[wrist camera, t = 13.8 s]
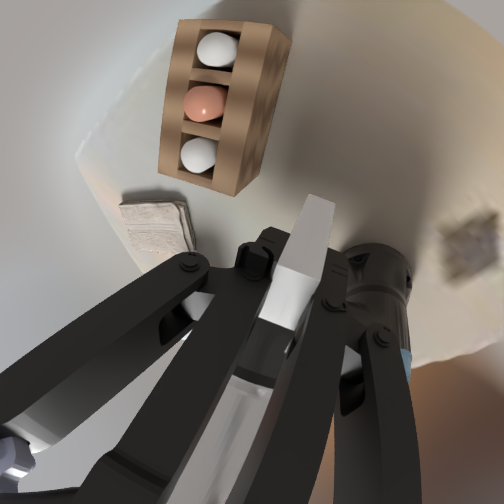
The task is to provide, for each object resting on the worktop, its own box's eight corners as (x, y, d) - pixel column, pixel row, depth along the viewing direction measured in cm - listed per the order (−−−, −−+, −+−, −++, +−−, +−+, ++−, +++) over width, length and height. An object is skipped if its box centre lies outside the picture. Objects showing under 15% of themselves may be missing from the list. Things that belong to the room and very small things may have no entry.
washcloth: (201, 250, 56) (193, 258, 53) (138, 245, 62) (130, 252, 59) (187, 196, 49) (178, 202, 47) (123, 200, 56) (114, 205, 53)
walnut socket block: (258, 174, 42) (234, 197, 34) (193, 155, 44) (157, 172, 36) (291, 40, 29) (272, 24, 21) (215, 31, 31) (179, 19, 23)
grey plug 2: (235, 159, 40) (208, 176, 33) (210, 152, 41) (179, 168, 34) (240, 133, 38) (213, 144, 31) (214, 126, 39) (182, 136, 31)
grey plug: (254, 72, 32) (227, 68, 25) (226, 68, 33) (194, 64, 26) (260, 45, 29) (235, 33, 22) (231, 41, 30) (200, 31, 23)
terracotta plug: (241, 117, 36) (212, 125, 28) (214, 111, 36) (180, 118, 29) (247, 88, 33) (219, 88, 26) (219, 83, 34) (186, 84, 26)
